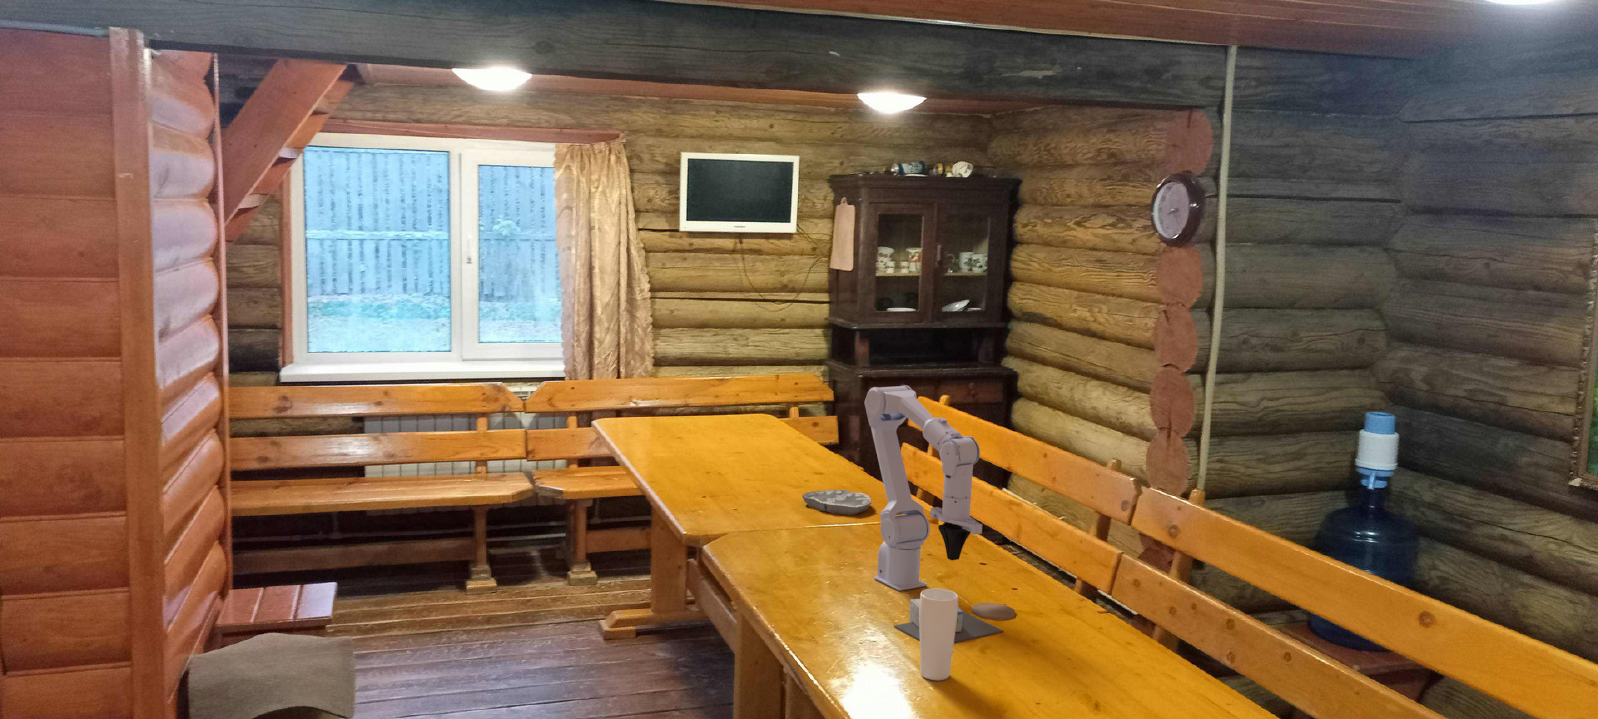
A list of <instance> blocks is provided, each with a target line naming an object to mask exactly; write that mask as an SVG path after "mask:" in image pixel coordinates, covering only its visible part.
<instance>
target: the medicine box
mask: <svg viewBox="0 0 1598 719" xmlns="http://www.w3.org/2000/svg"><path fill="white" fill-rule="evenodd" d="M919 603H920V598H913V599H909V618H908V620H909V621H910V622H913V623H914V624H915V625H916V626H917V627H918V628H919ZM962 619H963V610H962V609H961V608H960V607H959V606H958V616H957V624H956V631H955V632H962Z"/></svg>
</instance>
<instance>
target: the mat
mask: <svg viewBox="0 0 1598 719" xmlns="http://www.w3.org/2000/svg"><path fill="white" fill-rule="evenodd" d="M962 611H963V610H962ZM893 628H895V629H897V630H899V631H901V632H902V633H904V634H906V635H907V636H910V637H912V638H914V639H915V640H917V641H919V642H920V634H919V628H918V627H917V626H916V625H915V624H914V623H913V622H912V621H910V622H904V623H901V624H895V625H893ZM1000 633H1004V630H1003V629H1001V628H999V627H997V626H995V625H993V624H990V623H988V622H987V621H984V620H982V619H980V618H979V617H977V616H973V615H972V614H969V613H968V612H965V611H963V619H962V632H955V638H954V644H956V643H959V642H965V641H969V640H973V639H978V638H982V637H987V636H991V635H996V634H1000Z"/></svg>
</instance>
